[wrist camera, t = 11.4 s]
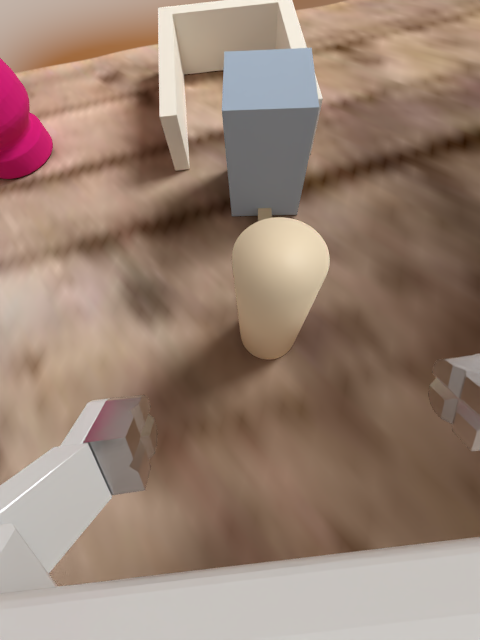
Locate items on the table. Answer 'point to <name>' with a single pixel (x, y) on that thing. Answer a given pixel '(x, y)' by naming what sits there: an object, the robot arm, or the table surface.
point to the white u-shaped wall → (214, 51)
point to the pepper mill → (19, 130)
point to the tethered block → (271, 193)
